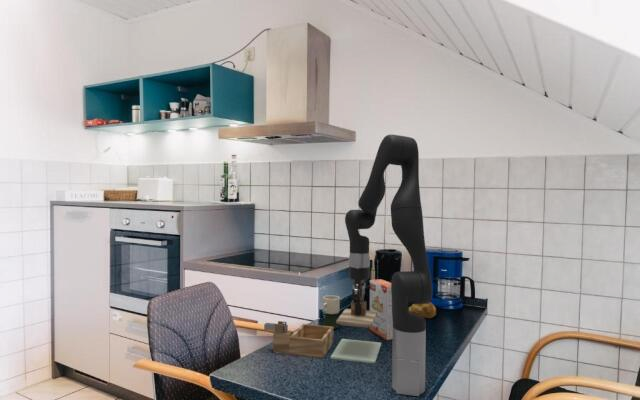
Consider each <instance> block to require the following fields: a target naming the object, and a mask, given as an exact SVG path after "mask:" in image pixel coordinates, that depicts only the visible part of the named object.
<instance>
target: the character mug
mask: <svg viewBox="0 0 640 400" xmlns="http://www.w3.org/2000/svg"><path fill="white" fill-rule="evenodd" d="M340 299H341V297H340V296H339V295H332V294H331V295H324V296H322V312H323V313H324V319H323V326H331V327H334V329H335V330H336V329H338V328H339V324H336V320H337V319H338V318H339V317H338V314H339V313H340V310H341V309H340V307H341V306H340V302H341V301H340Z"/></svg>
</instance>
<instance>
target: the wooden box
mask: <svg viewBox="0 0 640 400" xmlns="http://www.w3.org/2000/svg"><path fill="white" fill-rule="evenodd" d="M282 322H284V321H281V320H277V323H274V324H275V331H272V332H273V333H272V352H273V351H274V352H279V353H286V354H285V355H288V354H291V356H297V355H298V357H306V358H307V357H308V358H317V359H324V357H326V355H327V353H328V352H329V351H330V348H331V347H332V346H333V344H334V339H335V338H334V333H335V331H334V327H331V326H324V325H319V324H317V325H316V324H308V323H302V324H301V325H300V326H299V327H298V328H297V329H296V330H295V331H294V330H290V329H289V330H287V331H286V332H283V324H282ZM285 322H286V325H288V324H287V321H285ZM279 353H278V354H279Z"/></svg>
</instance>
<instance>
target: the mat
mask: <svg viewBox="0 0 640 400" xmlns="http://www.w3.org/2000/svg"><path fill="white" fill-rule="evenodd" d="M381 347H382V342H377V341H370V340H367V341H366V340H357V339H350V338H349V339H346V338H341V340H340V341H339V343H338V345H337V346H336V347H335V349H334V351H332V354H331V356H330V359H331V360H332V359H333V360H341V361H349V362H358V363H359V362H360V363H367V364H368V363H369V364H376V362H377V359H378V356H379V352H380V349H381Z"/></svg>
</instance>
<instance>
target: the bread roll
mask: <svg viewBox="0 0 640 400" xmlns="http://www.w3.org/2000/svg"><path fill="white" fill-rule="evenodd" d="M407 310H408V311H409V312H411V313H413V314H416V315H419V316H421V317H423V318H424V319H432V318H434V317H435V316H436V315H437V308H436V307H435V305H434V304H433V303H432V302H431V301H430V302H429V303H427V304H411V306H409V307H408V309H407Z"/></svg>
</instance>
